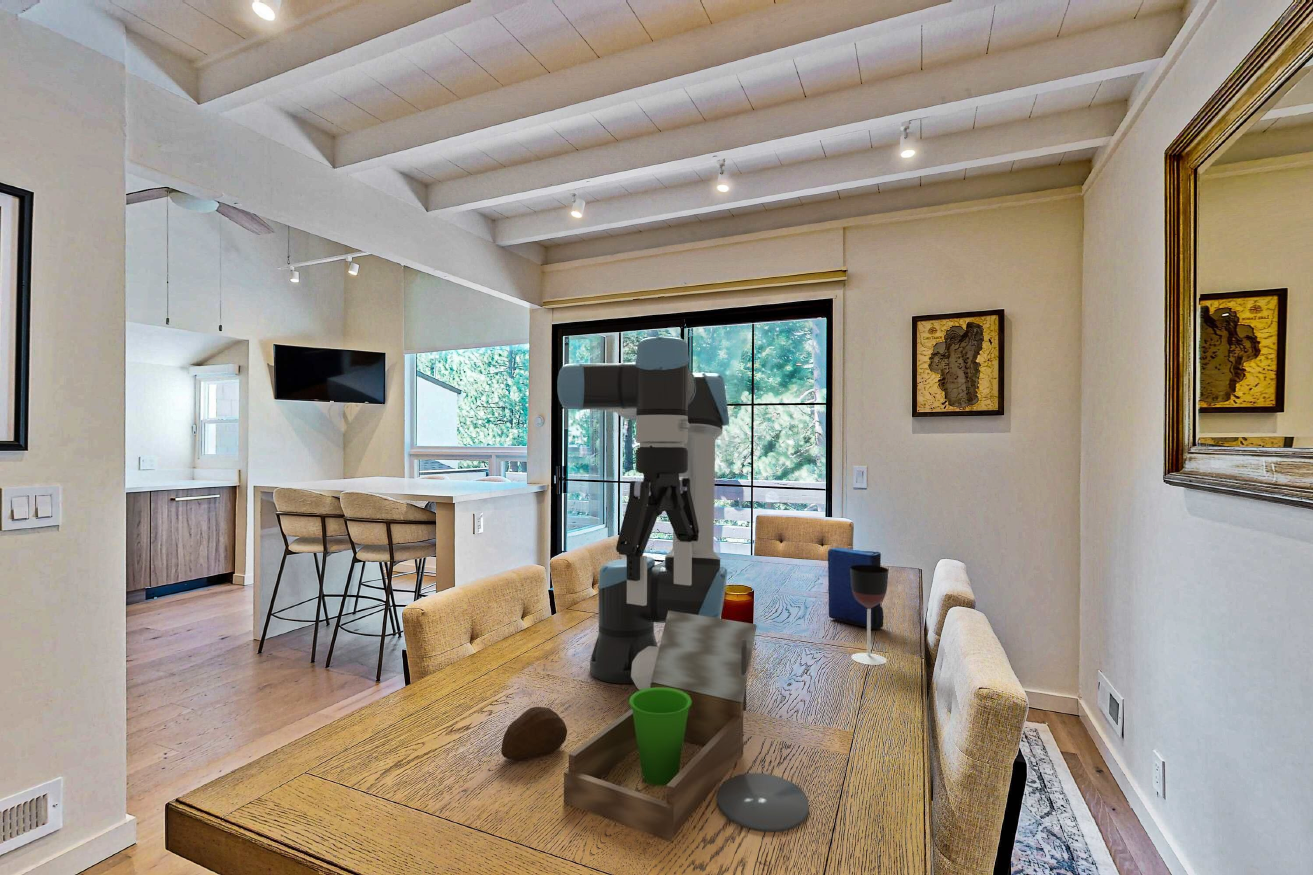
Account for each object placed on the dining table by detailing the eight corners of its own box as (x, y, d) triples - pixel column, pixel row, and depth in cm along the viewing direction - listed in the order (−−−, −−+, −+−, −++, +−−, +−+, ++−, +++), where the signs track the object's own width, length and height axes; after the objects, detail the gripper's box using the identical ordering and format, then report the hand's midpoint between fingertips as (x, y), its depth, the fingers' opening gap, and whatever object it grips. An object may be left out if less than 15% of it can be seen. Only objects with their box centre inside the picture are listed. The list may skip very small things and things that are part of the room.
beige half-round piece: (615, 683, 117) (659, 711, 108) (630, 636, 118) (674, 660, 110) (645, 685, 123) (689, 711, 114) (659, 640, 124) (703, 663, 116)
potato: (492, 754, 94) (492, 709, 94) (553, 735, 100) (553, 692, 100) (511, 774, 88) (511, 726, 88) (574, 752, 95) (575, 707, 95)
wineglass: (848, 662, 134) (848, 570, 134) (851, 650, 142) (851, 563, 142) (887, 667, 131) (887, 574, 131) (888, 654, 139) (888, 566, 139)
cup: (686, 797, 83) (686, 716, 83) (621, 789, 84) (621, 709, 85) (695, 763, 91) (696, 689, 92) (636, 757, 93) (636, 684, 93)
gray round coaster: (702, 813, 79) (702, 807, 79) (736, 770, 90) (737, 764, 90) (792, 843, 73) (792, 836, 73) (819, 793, 84) (819, 787, 84)
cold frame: (563, 802, 81) (564, 662, 82) (669, 715, 107) (670, 609, 108) (669, 841, 74) (670, 686, 74) (756, 737, 100) (756, 623, 100)
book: (885, 628, 158) (886, 551, 158) (875, 632, 155) (875, 553, 155) (836, 616, 169) (836, 544, 169) (825, 620, 165) (826, 546, 166)
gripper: (639, 445, 76) (638, 618, 75) (720, 446, 97) (719, 579, 97) (590, 445, 79) (589, 609, 79) (678, 445, 101) (677, 574, 101)
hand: (661, 593), depth 88 cm, fingers open, 13 cm apart
